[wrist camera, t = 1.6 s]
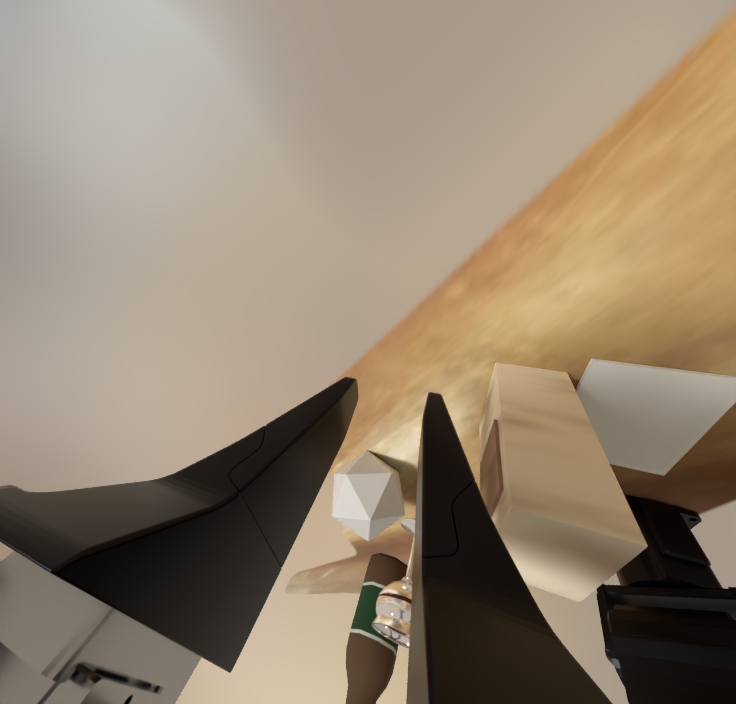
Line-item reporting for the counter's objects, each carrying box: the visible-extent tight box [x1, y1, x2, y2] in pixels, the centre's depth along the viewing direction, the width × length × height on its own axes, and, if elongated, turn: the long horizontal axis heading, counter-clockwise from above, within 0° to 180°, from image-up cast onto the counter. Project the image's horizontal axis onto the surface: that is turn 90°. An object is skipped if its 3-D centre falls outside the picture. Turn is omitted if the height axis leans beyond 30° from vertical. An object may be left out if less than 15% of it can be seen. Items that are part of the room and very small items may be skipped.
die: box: [332, 450, 405, 542], centre depth 32 cm, size 8×9×10 cm
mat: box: [575, 358, 736, 476], centre depth 20 cm, size 10×8×1 cm
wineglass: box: [372, 518, 415, 649], centre depth 35 cm, size 7×7×12 cm
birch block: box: [479, 362, 648, 602], centre depth 18 cm, size 7×5×12 cm
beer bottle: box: [346, 553, 407, 704], centre depth 41 cm, size 8×8×24 cm
